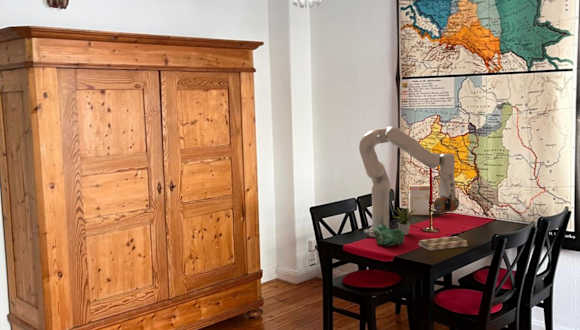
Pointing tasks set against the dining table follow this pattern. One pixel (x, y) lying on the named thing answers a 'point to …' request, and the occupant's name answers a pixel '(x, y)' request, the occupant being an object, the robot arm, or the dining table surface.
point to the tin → (440, 204)
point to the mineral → (388, 236)
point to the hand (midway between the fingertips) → (445, 208)
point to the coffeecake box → (419, 199)
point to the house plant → (404, 220)
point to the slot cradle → (443, 243)
